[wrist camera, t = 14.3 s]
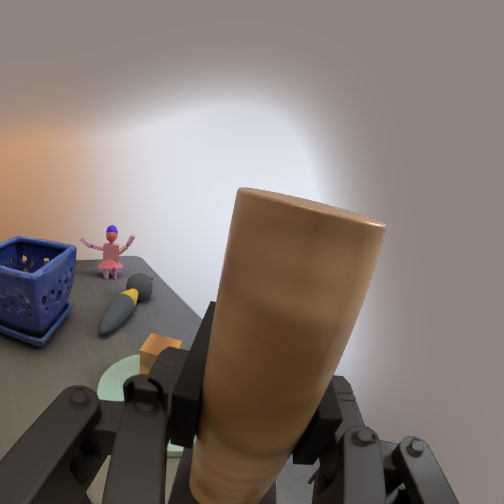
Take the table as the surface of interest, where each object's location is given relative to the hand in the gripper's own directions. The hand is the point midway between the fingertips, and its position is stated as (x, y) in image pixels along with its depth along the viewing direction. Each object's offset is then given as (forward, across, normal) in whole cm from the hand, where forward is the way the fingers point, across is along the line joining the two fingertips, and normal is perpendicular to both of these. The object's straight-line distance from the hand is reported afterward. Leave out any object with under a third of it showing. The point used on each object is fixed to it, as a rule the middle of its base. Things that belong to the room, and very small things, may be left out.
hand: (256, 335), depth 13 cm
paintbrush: (+27, -19, -18) cm, 38 cm away
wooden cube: (+14, -9, -17) cm, 23 cm away
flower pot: (+14, -31, -18) cm, 38 cm away
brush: (-5, 0, -9) cm, 10 cm away
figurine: (+38, -30, -18) cm, 52 cm away
